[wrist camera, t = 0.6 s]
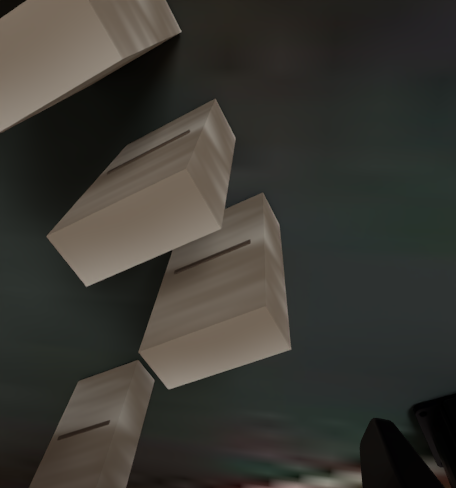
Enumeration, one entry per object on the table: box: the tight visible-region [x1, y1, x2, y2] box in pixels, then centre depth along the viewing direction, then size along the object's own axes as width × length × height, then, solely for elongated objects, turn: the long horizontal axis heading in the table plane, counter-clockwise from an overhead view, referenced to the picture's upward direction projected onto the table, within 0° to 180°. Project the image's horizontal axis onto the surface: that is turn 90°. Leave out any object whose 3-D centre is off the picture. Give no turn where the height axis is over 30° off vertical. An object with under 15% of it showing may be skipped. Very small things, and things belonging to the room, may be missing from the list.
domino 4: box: [29, 360, 155, 488], centre depth 25 cm, size 2×5×9 cm, turn 117°
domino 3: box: [139, 193, 291, 390], centre depth 18 cm, size 2×5×9 cm, turn 117°
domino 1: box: [0, 0, 182, 133], centre depth 14 cm, size 2×5×9 cm, turn 118°
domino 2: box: [46, 99, 236, 287], centre depth 16 cm, size 2×5×9 cm, turn 117°
